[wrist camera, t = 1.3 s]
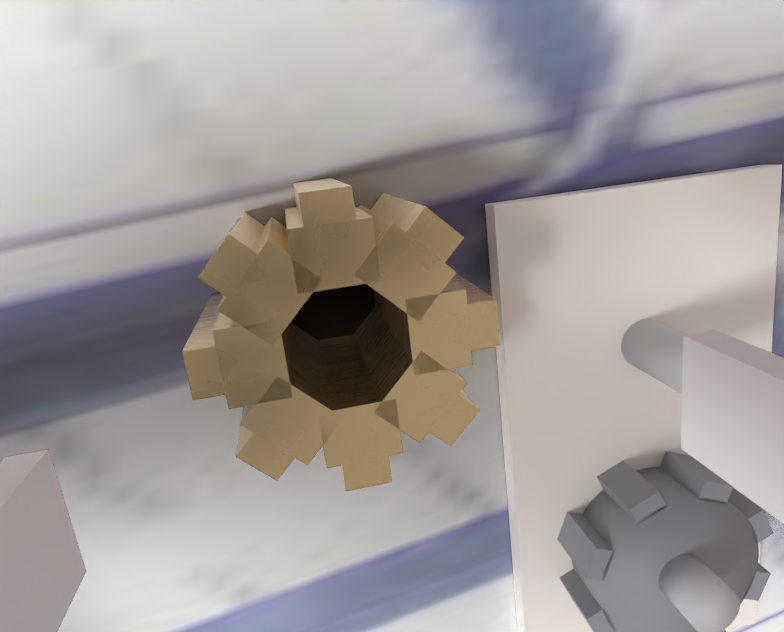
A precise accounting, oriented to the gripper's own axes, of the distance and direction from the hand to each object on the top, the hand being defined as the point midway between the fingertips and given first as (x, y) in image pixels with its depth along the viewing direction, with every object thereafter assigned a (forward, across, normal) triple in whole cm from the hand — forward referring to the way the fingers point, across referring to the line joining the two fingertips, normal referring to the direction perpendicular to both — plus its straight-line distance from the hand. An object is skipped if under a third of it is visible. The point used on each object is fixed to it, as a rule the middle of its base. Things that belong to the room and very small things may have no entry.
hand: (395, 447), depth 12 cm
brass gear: (+15, 0, 0) cm, 15 cm away
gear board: (+15, +14, -10) cm, 23 cm away
